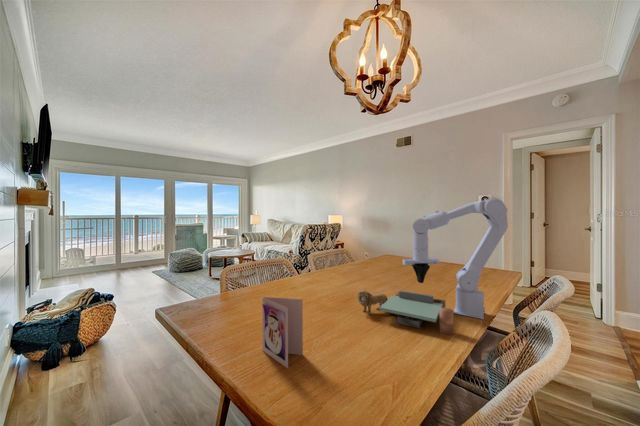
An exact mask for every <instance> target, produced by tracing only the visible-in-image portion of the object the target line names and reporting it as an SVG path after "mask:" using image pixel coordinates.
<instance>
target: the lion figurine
mask: <svg viewBox="0 0 640 426" xmlns="http://www.w3.org/2000/svg"><path fill="white" fill-rule="evenodd" d="M388 299H389V298H388V296H387V295H385V294H384V293H377V294H372V293H370V292H368V291H366V290H365V289H361V290H359V291H358V292H357V301H358V303H359V304H360V305H361V306H363V310H362V312H363V313H366V314H367V315H371V313H372V310H371V308H372V306H375V305H377V304H378V305H379V306H378V307H376V310H379V311H380V307H381V306H382V305H383V304H384V303H385V302H386V301H387V300H388Z"/></svg>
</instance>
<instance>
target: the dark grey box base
mask: <svg viewBox="0 0 640 426" xmlns="http://www.w3.org/2000/svg"><path fill="white" fill-rule="evenodd" d="M394 296H399V292H398V293H397V294H395V295H394ZM433 303H439V304H443V307H442V308H446V300H445V299H439V298H435V297H433ZM387 313H388V314H391V315H396V316H397V318H396V319H397V322H396V323H397V324H400V325H404V326H409V327H414V328H418V329H420V328H421V326H422V324H423V322H424V321H425V322H429V323H433V324H438V325H439V318H440V314H439V316H438V319H437V321H436V322H432V321H428V320H423V319H418V318H414V317H409V316H404V315H400V314H395V313H390V312H387Z"/></svg>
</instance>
